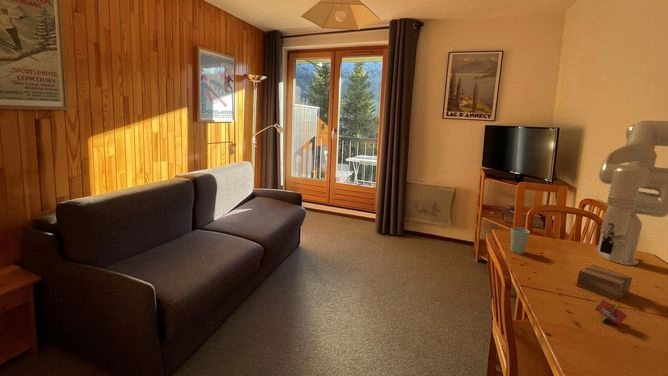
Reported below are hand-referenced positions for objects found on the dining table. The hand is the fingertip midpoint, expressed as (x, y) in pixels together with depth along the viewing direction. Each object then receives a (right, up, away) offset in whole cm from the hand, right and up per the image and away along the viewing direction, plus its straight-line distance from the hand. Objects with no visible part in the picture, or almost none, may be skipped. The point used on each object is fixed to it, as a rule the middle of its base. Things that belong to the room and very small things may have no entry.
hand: (610, 250), depth 124 cm
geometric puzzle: (-15, -18, -18) cm, 30 cm away
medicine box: (0, -3, +1) cm, 3 cm away
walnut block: (-1, -15, +3) cm, 15 cm away
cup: (-14, -7, +37) cm, 40 cm away
